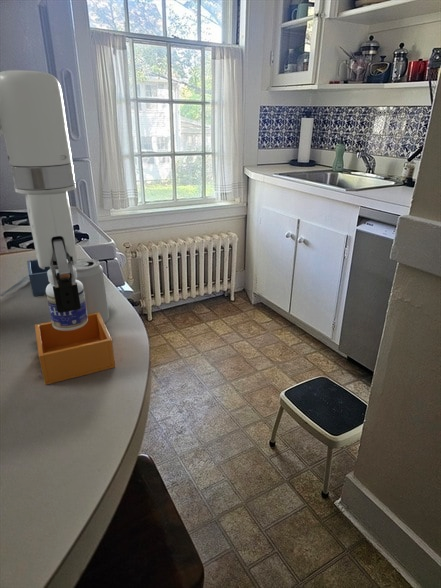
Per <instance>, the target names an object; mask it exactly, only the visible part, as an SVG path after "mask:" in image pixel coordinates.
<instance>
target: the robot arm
mask: <svg viewBox="0 0 441 588" xmlns="http://www.w3.org/2000/svg"><path fill="white" fill-rule="evenodd" d="M0 137H3V140H4V145H5V149H6V154H7V159H8V163H9V167H10V172H11V173H10V174H11V177H12V181H13V186H14V191H15V194H16V193H17V194H20V195H25V197H24V198H25V205H26V211H27V216H28V221H29V222H28V223H29V226H30V232H31V236H32V240H33V246H34V251H35V255H36V259H37V260H38V264H39V267H40V268H41V269H45V267H50V269H51V271H52V276H53V281H54V286H53V291H54V296H55V302H56V307H57V311H58V312H59V313H63V312H68V311H73V310H78V309H80V308H81V305H80V299H79V293H78V287H77V283H75V277H74V272H73V267H72V264H73V265H74V264H75V263H76V262H77V260H78V257H77V246H76V239H75V231H74V223H73V217H72V210H71V205H70V198H69V192H72V191H74V190H76V189H77V185H76V177H75V171H74V164H73V158H72V151H71V144H70V138H69V129H68V124H67V117H66V111H65V104H64V97H63V91H62V86H61V83H60V81H59V80H58V79H57V77H56V76H55V75H53V74H51V73H49V72H44V71H39V70H25V69H23V70H22V69H9V70H3V71H0ZM56 269H58V271H59V273H57V274H56Z"/></svg>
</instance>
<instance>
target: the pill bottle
mask: <svg viewBox="0 0 441 588" xmlns="http://www.w3.org/2000/svg"><path fill="white" fill-rule="evenodd" d="M72 267H73V266H72ZM73 272H74V277H75V283H77V287H78V293H79V299H80V305H81V308H80V309H78V310H73V311H68V312H63V313H59V312H58V311H57V307H56V302H55V296H54V291H53V286H54V281H53V276H52V271H51V269H49V270H48V271H47V275H48V280H49V282H50V284H48V285H47V287H46V294H45V295H46V300H47V305H48V310H49V315H50V320H51V321H50V322H52V326H53V327H54V328H55V329H57V330H61V331H70V330H75V329H78V328H81V327H83V326H84V325H85V324H86V323H87V321H88V315H87V308H86V302H85V295H84V288H83V284H82V283H81V282H80V281H79V280H76V279H77V272H76V268H75V267H73ZM57 273H59V271H58V269H56V274H57Z"/></svg>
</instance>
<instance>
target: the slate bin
mask: <svg viewBox="0 0 441 588" xmlns="http://www.w3.org/2000/svg"><path fill="white" fill-rule="evenodd" d="M26 265H27V272H28V278H29V283H30V288H31V292H32V296H33V297H38V296H45V295H46V287H47V285H48V284H50V282H49V280H48V275H47V271H48V270H49V269H50V267H45V269H41V268H40V267H39V264H38V260H37V258H36V259H31V260H26Z"/></svg>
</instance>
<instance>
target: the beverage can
mask: <svg viewBox="0 0 441 588" xmlns="http://www.w3.org/2000/svg"><path fill="white" fill-rule="evenodd" d="M72 266H73V267H75V268H76V272H77V279H76V280H79V281H80V282H81V283H82V284H83V288H84V295H85V302H86V308H87V315H88V314H93V313H98V312H99V313H100V316H101V318H102V320H103V322H104V324H106V322H108V321H109V319H110V313H109V306H108V296H107V290H106V282H105V276H104V267H103V266H102V265H101V262H100V261H99V260H98V259H95V258H79V259H77V262H76V263H75V264H74V265H73V264H72Z"/></svg>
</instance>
